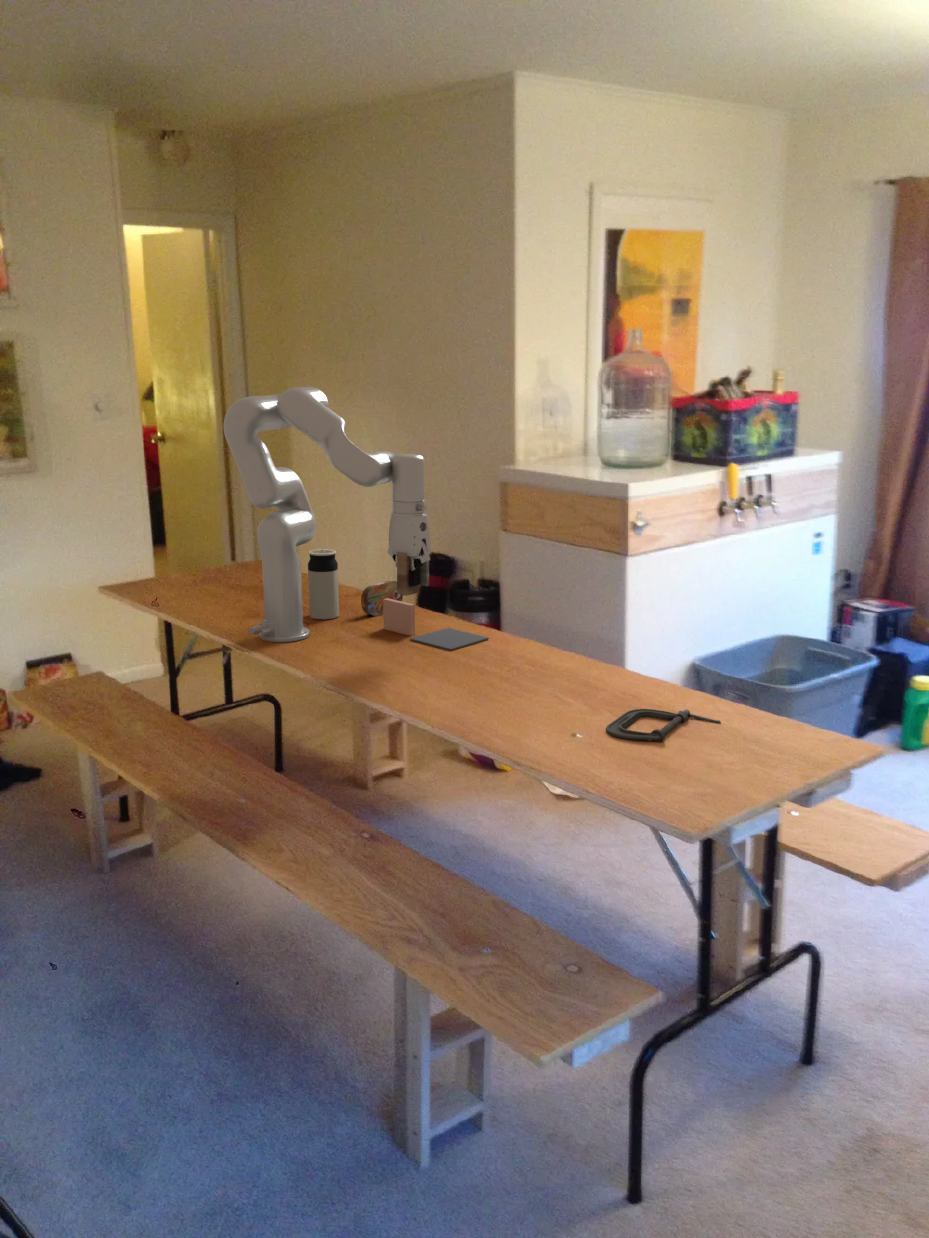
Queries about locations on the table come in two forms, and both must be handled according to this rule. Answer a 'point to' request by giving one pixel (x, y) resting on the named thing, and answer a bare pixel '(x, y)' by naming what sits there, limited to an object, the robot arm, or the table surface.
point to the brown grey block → (403, 575)
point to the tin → (378, 597)
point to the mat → (449, 639)
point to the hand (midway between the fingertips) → (408, 583)
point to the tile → (399, 616)
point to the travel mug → (323, 584)
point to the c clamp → (656, 735)
